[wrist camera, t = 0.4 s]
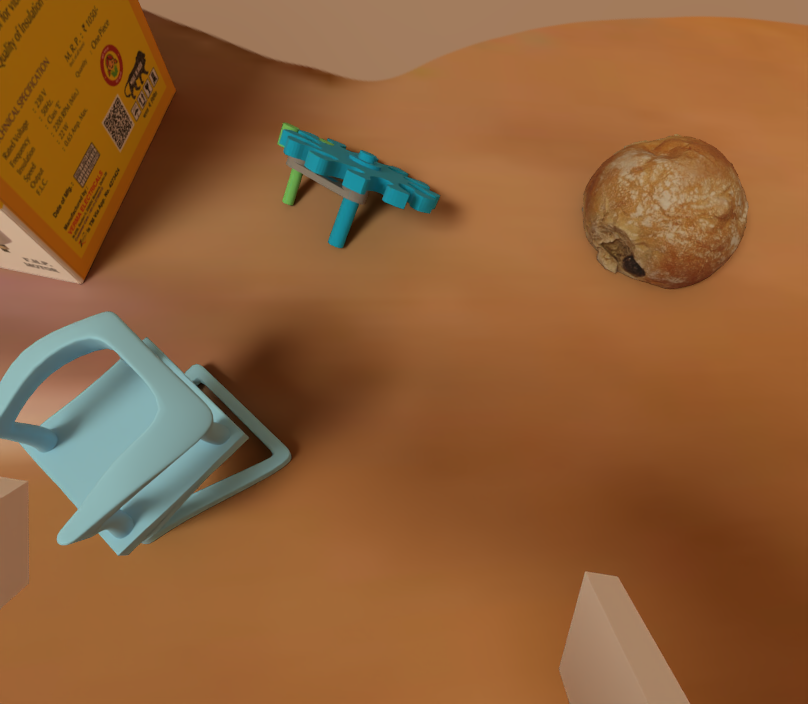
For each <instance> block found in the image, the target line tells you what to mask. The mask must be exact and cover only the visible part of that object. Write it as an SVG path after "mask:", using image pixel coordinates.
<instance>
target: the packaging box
mask: <svg viewBox="0 0 808 704" xmlns="http://www.w3.org/2000/svg"><path fill="white" fill-rule="evenodd" d="M175 92H176V89H175V87H174V85H173V82H172V80H171V77H170V75H169V73H168V70H167V68H166V66H165V63H164V61H163V58H162V56H161V54H160V51H159V49H158V47H157V44H156V42H155V39H154V37H153V35H152V32H151V30H150V28H149V25H148V23H147V21H146V18H145V16H144V13H143V11H142V9H141V6H140V4H139V2H138V0H0V268H5V269H10V270H14V271H19V272H24V273H29V274H34V275H39V276H44V277H49V278H53V279H58V280H63V281H68V282H73V283H78V284H81V283H83V281H84V279H85V277H86V275H87V273H88V271H89V269H90V267H91V265H92V263H93V261H94V259H95V257H96V255H97V253H98V251H99V248H100V246H101V244H102V242H103V240H104V238H105V236H106V234H107V232H108V230H109V228H110V226H111V224H112V222H113V220H114V218H115V215H116V213H117V211H118V209H119V207H120V205H121V203H122V201H123V199H124V197H125V195H126V193H127V191H128V189H129V187H130V185H131V182H132V180H133V178H134V176H135V174H136V172H137V170H138V168H139V166H140V164H141V162H142V160H143V158H144V156H145V154H146V152H147V149H148V147H149V145H150V143H151V141H152V139H153V137H154V135H155V133H156V131H157V129H158V127H159V125H160V123H161V121H162V119H163V116H164V114H165V112H166V110H167V108H168V106H169V104H170V102H171V100H172V98H173V96H174V94H175Z"/></svg>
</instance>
